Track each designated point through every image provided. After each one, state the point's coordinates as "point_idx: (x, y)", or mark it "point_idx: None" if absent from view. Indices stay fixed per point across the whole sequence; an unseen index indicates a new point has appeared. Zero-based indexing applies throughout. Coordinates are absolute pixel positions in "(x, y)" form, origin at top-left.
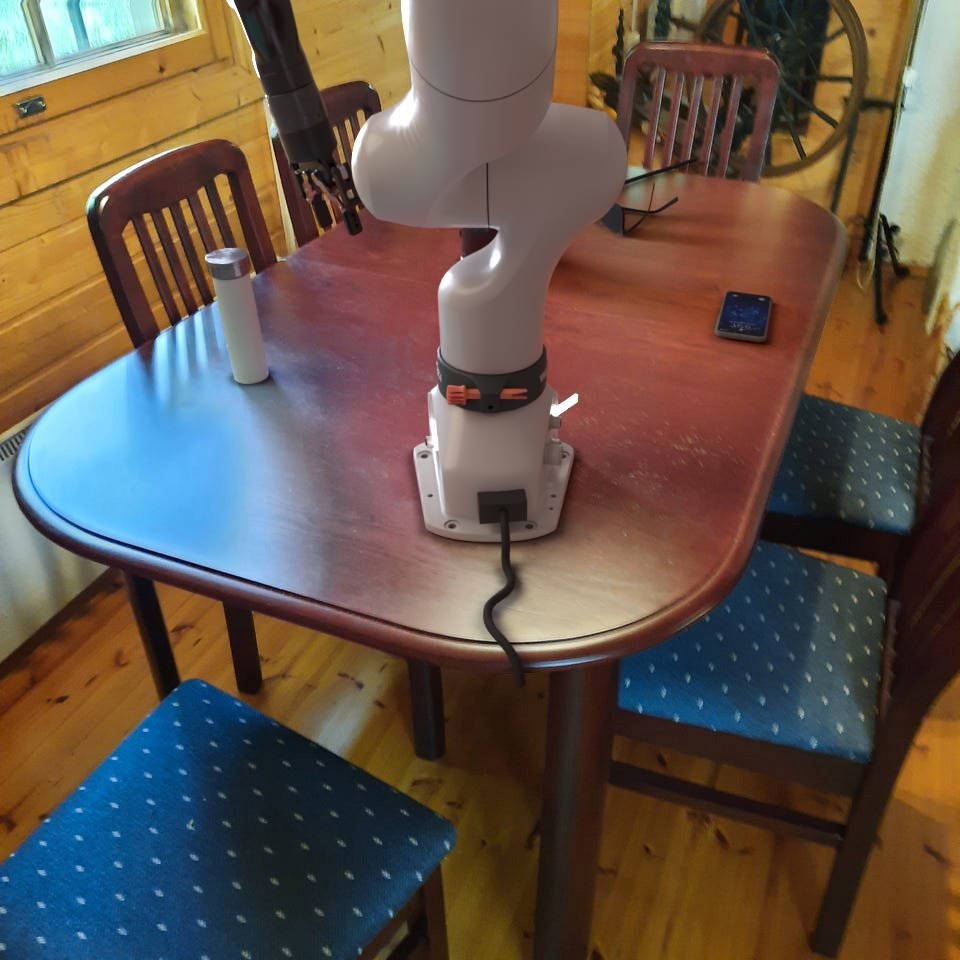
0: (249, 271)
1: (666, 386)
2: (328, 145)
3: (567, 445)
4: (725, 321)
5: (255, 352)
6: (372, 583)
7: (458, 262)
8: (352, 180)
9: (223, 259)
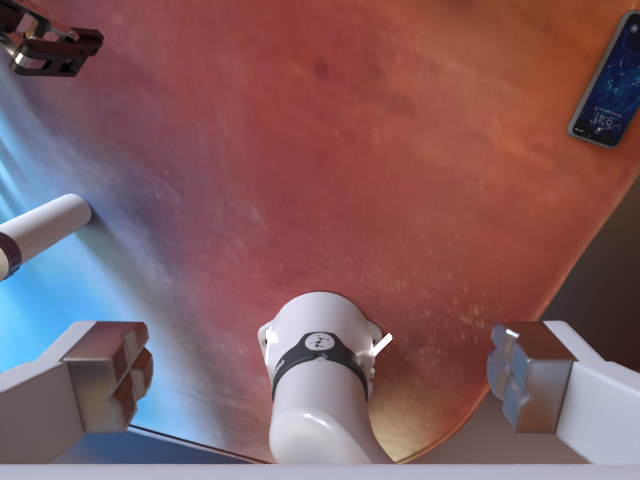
0: (21, 255)
1: (481, 231)
2: None
3: (377, 332)
4: (589, 108)
5: (71, 232)
6: (253, 440)
7: (287, 452)
8: (56, 56)
9: None
